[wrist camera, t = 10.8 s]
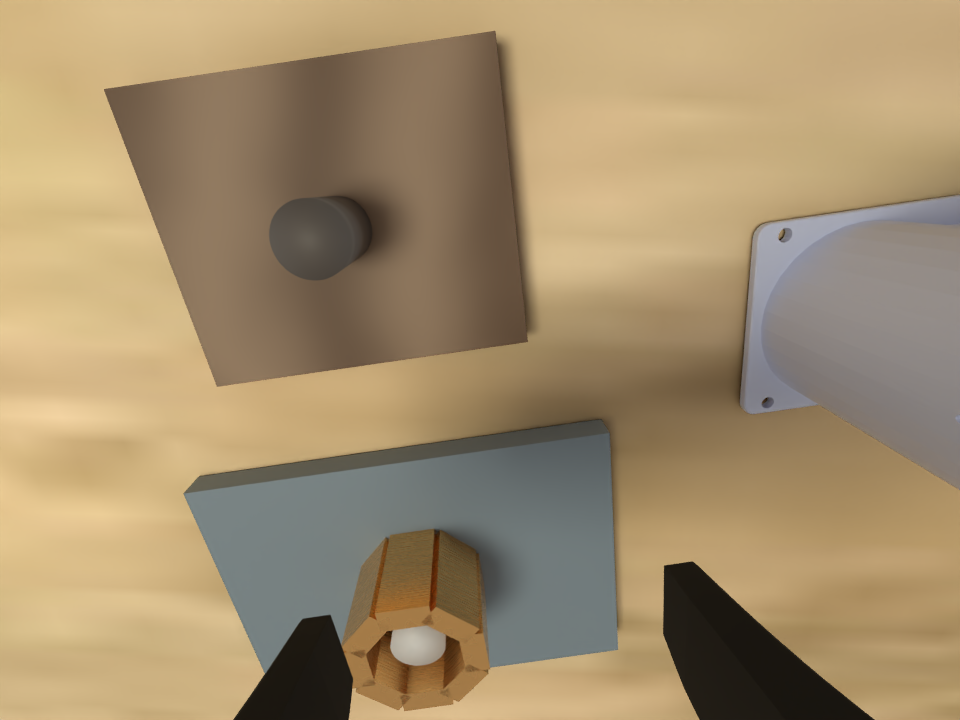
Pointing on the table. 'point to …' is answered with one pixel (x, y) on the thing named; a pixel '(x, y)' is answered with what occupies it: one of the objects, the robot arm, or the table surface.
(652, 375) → the table surface
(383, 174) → the stand
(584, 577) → the board
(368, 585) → the collar
